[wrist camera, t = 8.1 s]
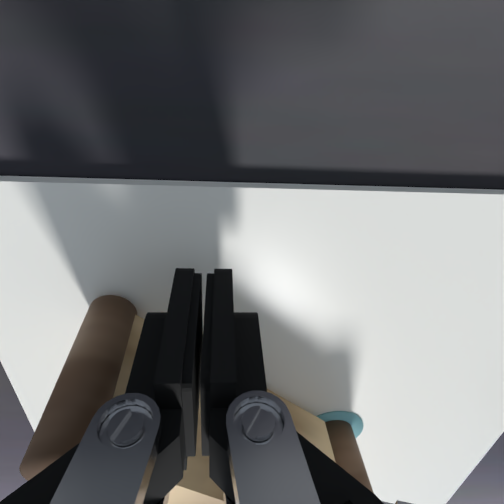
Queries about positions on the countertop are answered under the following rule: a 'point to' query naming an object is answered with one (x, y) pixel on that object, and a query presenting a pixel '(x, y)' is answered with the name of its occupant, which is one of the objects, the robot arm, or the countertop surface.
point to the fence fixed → (347, 450)
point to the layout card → (287, 300)
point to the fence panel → (114, 384)
